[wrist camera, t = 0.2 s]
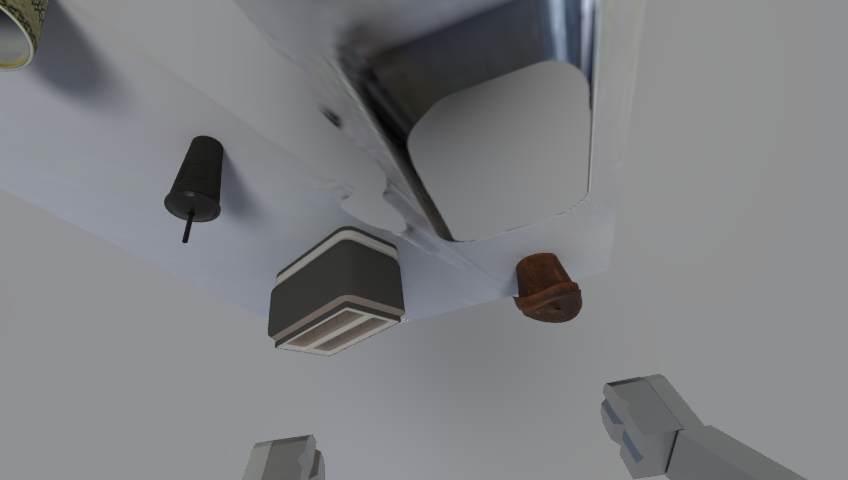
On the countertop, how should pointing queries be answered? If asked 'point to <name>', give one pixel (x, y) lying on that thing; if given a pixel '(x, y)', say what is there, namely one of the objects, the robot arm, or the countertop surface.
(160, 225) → the countertop surface
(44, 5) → the ceramic cup
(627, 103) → the countertop surface
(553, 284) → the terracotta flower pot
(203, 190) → the drinking cup
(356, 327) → the toaster
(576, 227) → the countertop surface
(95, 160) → the countertop surface
